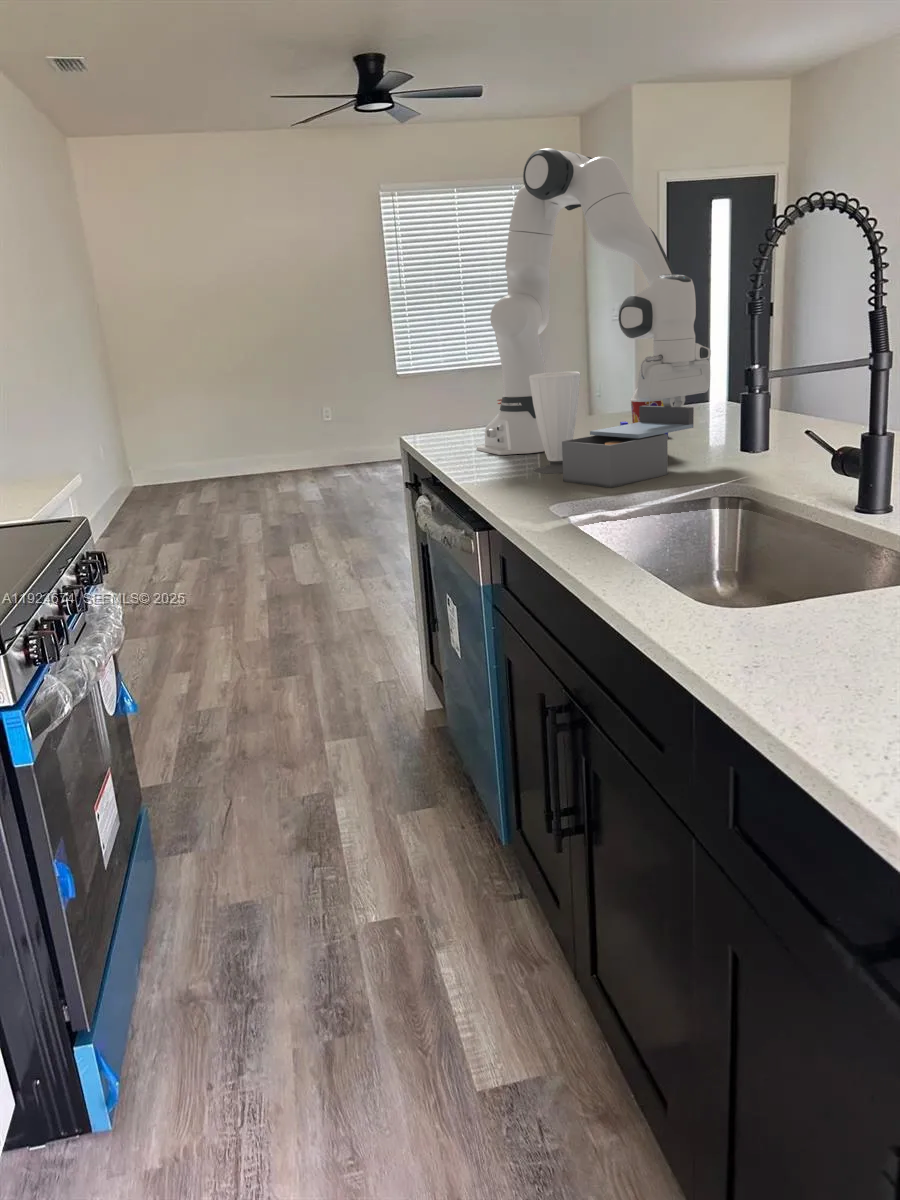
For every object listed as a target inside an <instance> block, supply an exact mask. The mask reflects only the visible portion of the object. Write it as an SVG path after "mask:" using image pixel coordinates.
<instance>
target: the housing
mask: <svg viewBox="0 0 900 1200" xmlns="http://www.w3.org/2000/svg"><path fill="white" fill-rule="evenodd" d="M668 439H669V433H668V434H659V435H654V436H649V437H643V438H626V437H612V436H599V435H589V436H583V437H578V438H573V439H572V440H567V441H562V458H563V473H562V477H563V478H562V479H563V482H567V483H573V484H581V485H587V486H588V485H589V486H595V487H601V488H602V487H604V488H610V489H612V488H615V487H616V488H617V487H621V486H624V485H628V484H633V483H637V482H641V481H646V480H650V479H653V478H654V479H655V478H659V477H662V476H667V475H668V468H669V467H668V466H669V465H668V460H669V459H668V458H669V457H668V456H669V454H668V452H669V450H668V448H669V447H668V445H669V444H668V443H669V441H668ZM611 441H623V443H618V444H613V445H605V443H606V442H611Z"/></svg>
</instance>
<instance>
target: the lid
mask: <svg viewBox="0 0 900 1200" xmlns="http://www.w3.org/2000/svg"><path fill="white" fill-rule="evenodd" d="M694 410H695V409H694V407H692V406H683V407H670V406H639V422H637V423H633V422H632V423H628V424H626V425H621V426H620V425H615V426H611V427H606V428H605V427H604V428H599V429H594V430H589V436H594V435H599V436H612V437H626V438H643V437H649V436H654V435H659V434H664V433H668V434H669V433H673V432H678V431H684V430H688V429H693V428H694V420H695V419H694V416H695V415H694Z"/></svg>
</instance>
